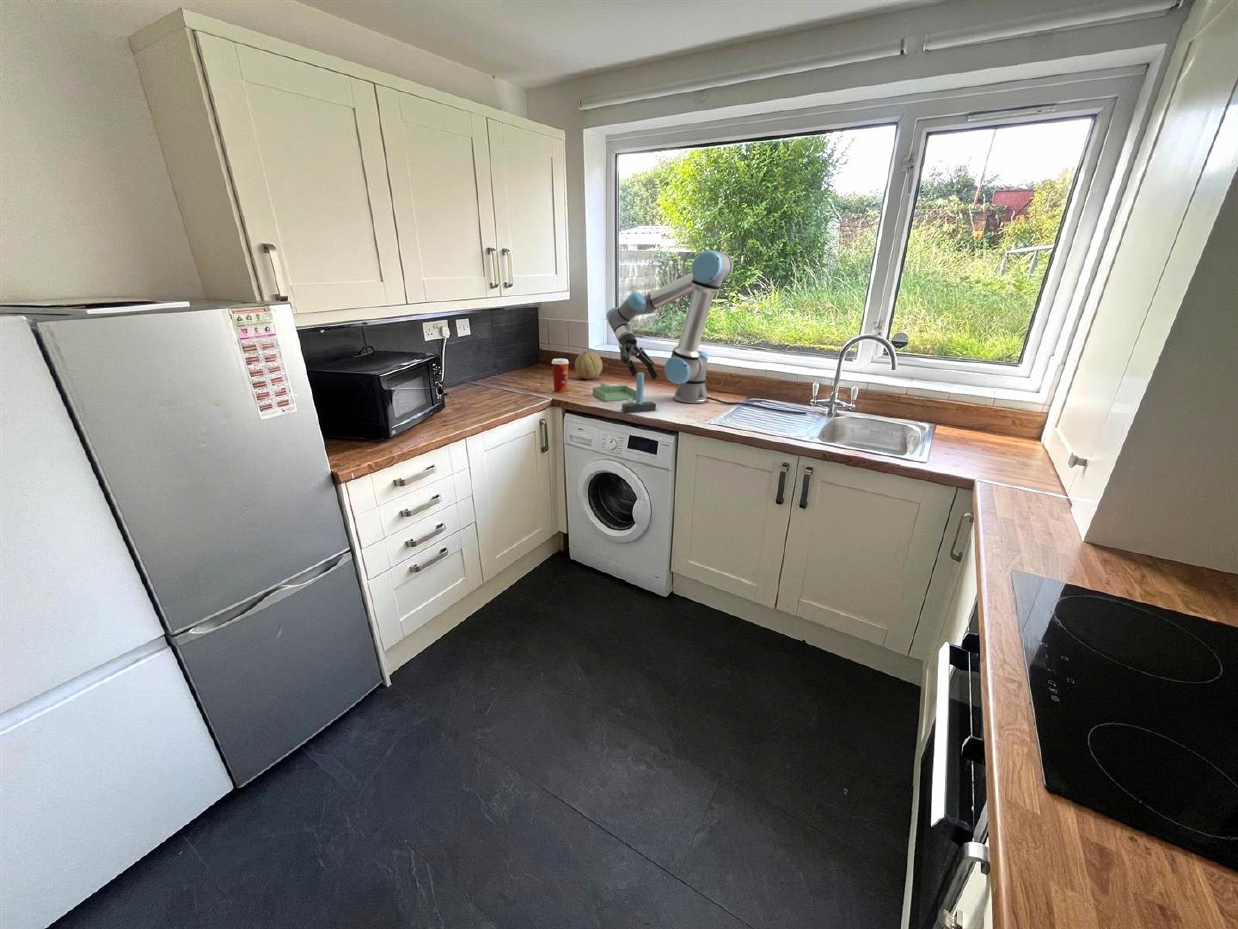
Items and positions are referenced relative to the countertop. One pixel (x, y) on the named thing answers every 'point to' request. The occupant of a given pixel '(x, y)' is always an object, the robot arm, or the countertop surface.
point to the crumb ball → (630, 400)
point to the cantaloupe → (588, 365)
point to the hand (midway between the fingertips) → (645, 376)
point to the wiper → (639, 399)
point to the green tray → (614, 392)
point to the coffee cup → (560, 374)
